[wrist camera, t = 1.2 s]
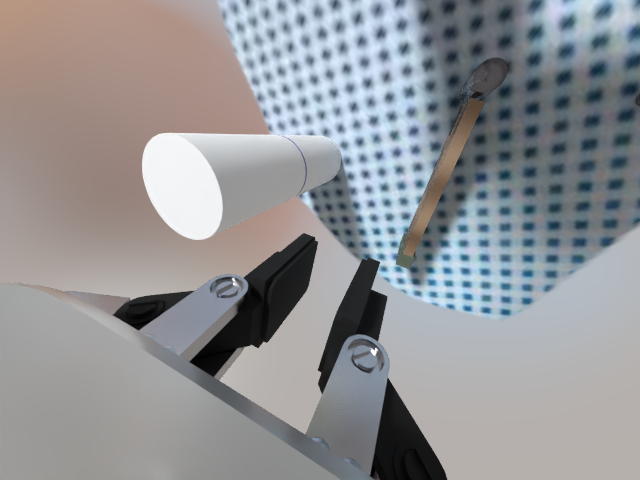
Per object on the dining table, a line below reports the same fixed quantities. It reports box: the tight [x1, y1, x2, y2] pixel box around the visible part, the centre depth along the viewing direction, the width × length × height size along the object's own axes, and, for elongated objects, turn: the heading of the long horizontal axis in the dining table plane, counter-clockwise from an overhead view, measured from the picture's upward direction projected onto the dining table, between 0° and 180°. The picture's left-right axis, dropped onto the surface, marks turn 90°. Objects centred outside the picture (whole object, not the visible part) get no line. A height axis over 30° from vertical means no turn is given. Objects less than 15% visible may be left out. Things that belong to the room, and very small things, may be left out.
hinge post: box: [460, 58, 508, 103], centre depth 23 cm, size 2×2×8 cm
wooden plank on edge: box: [396, 99, 485, 269], centre depth 28 cm, size 19×2×7 cm, turn 168°
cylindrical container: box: [142, 133, 341, 240], centre depth 26 cm, size 7×7×25 cm
